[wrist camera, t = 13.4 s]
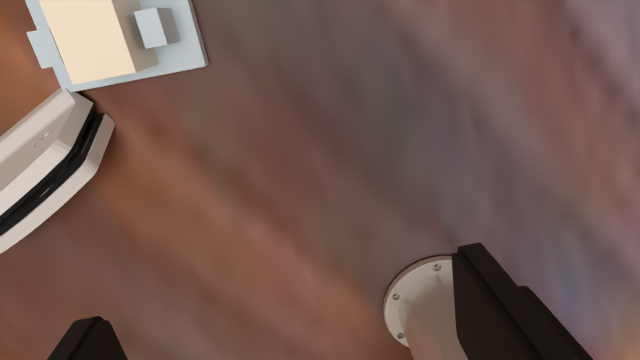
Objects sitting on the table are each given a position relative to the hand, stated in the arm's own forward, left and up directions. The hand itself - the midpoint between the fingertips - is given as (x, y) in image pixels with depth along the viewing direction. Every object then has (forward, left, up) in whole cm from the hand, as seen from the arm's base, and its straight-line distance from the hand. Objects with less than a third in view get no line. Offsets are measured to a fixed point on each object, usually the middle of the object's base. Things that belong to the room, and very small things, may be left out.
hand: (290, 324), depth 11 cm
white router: (-1, +23, -29) cm, 37 cm away
